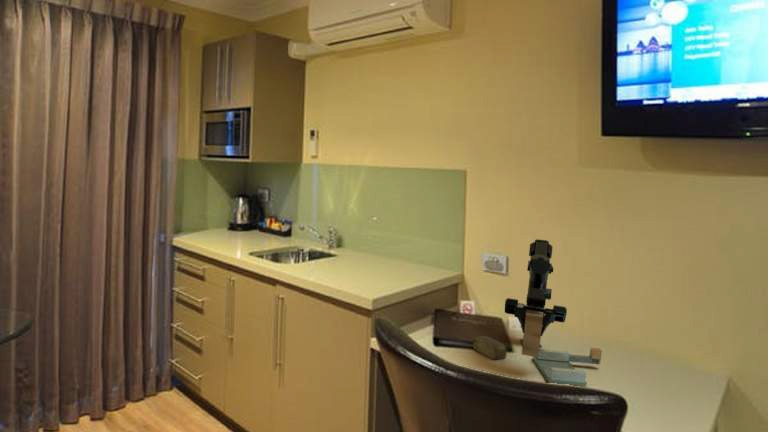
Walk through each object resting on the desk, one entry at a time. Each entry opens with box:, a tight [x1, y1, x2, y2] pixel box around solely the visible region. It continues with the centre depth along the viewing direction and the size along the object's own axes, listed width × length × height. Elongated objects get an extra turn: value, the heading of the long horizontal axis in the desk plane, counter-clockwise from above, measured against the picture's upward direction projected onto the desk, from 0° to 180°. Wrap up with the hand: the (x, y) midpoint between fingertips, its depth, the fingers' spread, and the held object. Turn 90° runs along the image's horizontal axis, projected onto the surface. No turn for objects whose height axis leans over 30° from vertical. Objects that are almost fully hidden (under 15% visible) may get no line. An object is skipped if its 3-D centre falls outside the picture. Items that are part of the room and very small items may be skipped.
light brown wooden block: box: [537, 347, 603, 365], centre depth 164 cm, size 2×20×5 cm, turn 88°
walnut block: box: [521, 310, 543, 358], centre depth 154 cm, size 5×5×13 cm
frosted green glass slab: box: [532, 356, 587, 387], centre depth 158 cm, size 20×11×4 cm, turn 178°
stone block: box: [472, 335, 508, 361], centre depth 170 cm, size 6×12×5 cm, turn 32°
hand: (532, 333), depth 153 cm, fingers closed on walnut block, 5 cm apart
